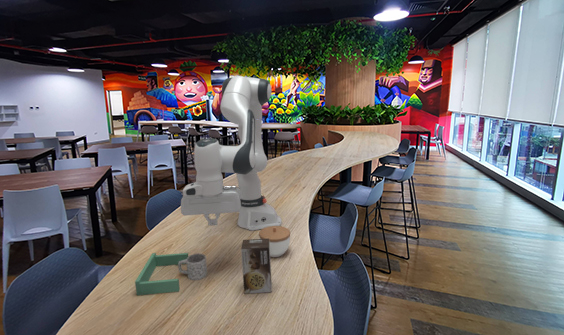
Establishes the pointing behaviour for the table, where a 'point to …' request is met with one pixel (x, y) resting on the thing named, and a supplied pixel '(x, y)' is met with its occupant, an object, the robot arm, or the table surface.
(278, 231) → the lidded bowl
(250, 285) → the brown food box
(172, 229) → the table surface
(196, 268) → the mug
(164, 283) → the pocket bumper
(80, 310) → the table surface
